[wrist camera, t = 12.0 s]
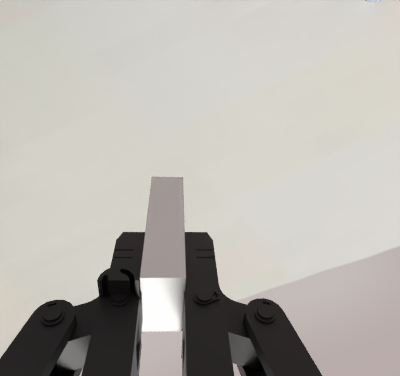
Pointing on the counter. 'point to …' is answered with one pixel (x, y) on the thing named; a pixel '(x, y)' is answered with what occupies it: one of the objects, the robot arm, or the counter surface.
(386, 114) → the counter surface
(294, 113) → the counter surface
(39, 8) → the counter surface
